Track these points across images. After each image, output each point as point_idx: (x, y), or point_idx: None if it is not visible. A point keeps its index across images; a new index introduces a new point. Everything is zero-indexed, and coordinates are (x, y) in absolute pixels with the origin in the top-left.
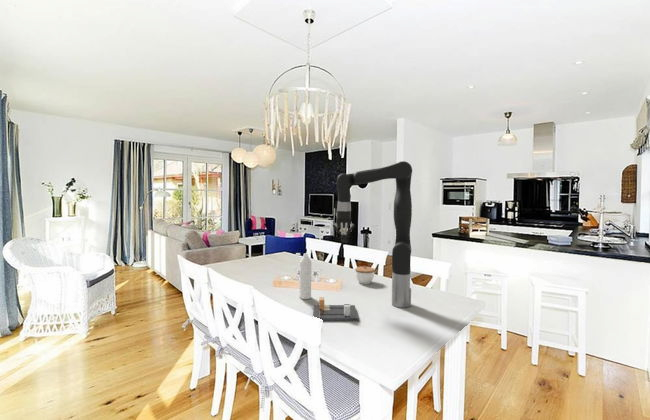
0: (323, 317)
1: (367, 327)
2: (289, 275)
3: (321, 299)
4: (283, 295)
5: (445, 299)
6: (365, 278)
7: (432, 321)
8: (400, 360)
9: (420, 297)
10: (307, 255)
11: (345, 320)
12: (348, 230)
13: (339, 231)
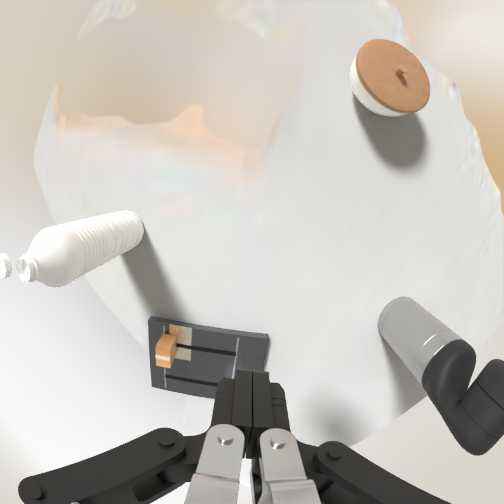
0: (174, 389)
1: None
2: (116, 10)
3: (162, 362)
4: (72, 204)
5: (489, 286)
6: (380, 113)
7: (397, 396)
8: None
9: (462, 269)
10: (35, 279)
11: None
12: (338, 482)
13: (174, 488)
